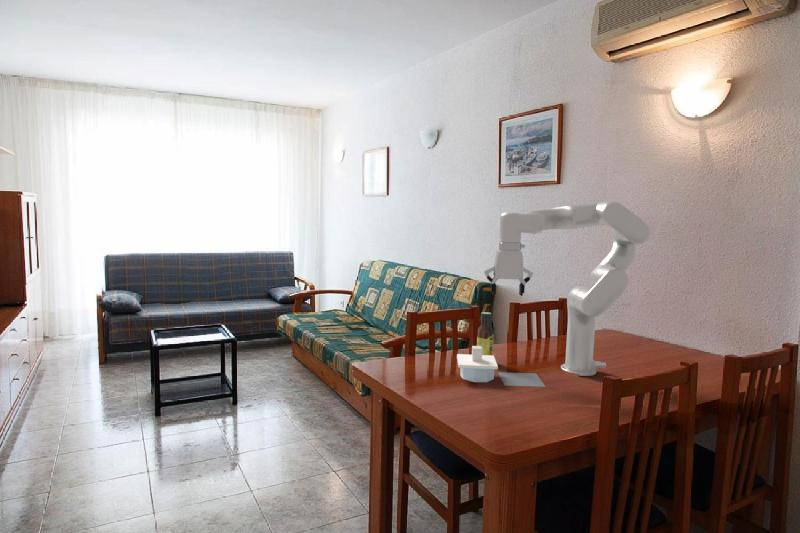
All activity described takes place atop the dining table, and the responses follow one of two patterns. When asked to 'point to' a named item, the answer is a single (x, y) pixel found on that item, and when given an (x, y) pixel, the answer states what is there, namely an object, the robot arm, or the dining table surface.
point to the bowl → (477, 374)
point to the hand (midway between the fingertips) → (507, 294)
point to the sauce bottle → (486, 334)
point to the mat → (521, 379)
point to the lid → (476, 360)
